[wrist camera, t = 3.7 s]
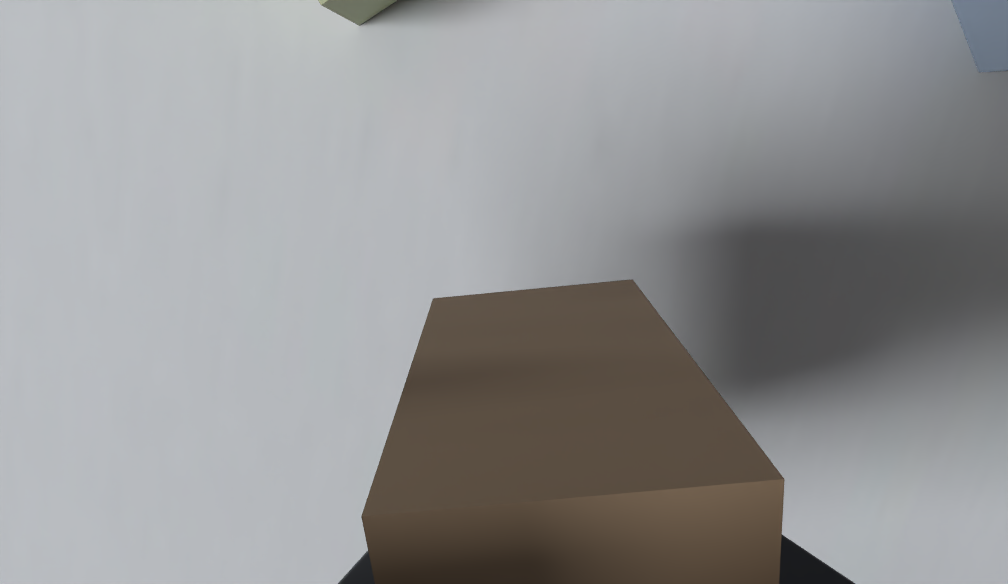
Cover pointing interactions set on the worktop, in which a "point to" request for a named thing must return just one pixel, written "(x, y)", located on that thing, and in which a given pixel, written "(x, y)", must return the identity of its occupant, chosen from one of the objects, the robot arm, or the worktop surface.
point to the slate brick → (985, 31)
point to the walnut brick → (567, 452)
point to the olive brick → (356, 8)
